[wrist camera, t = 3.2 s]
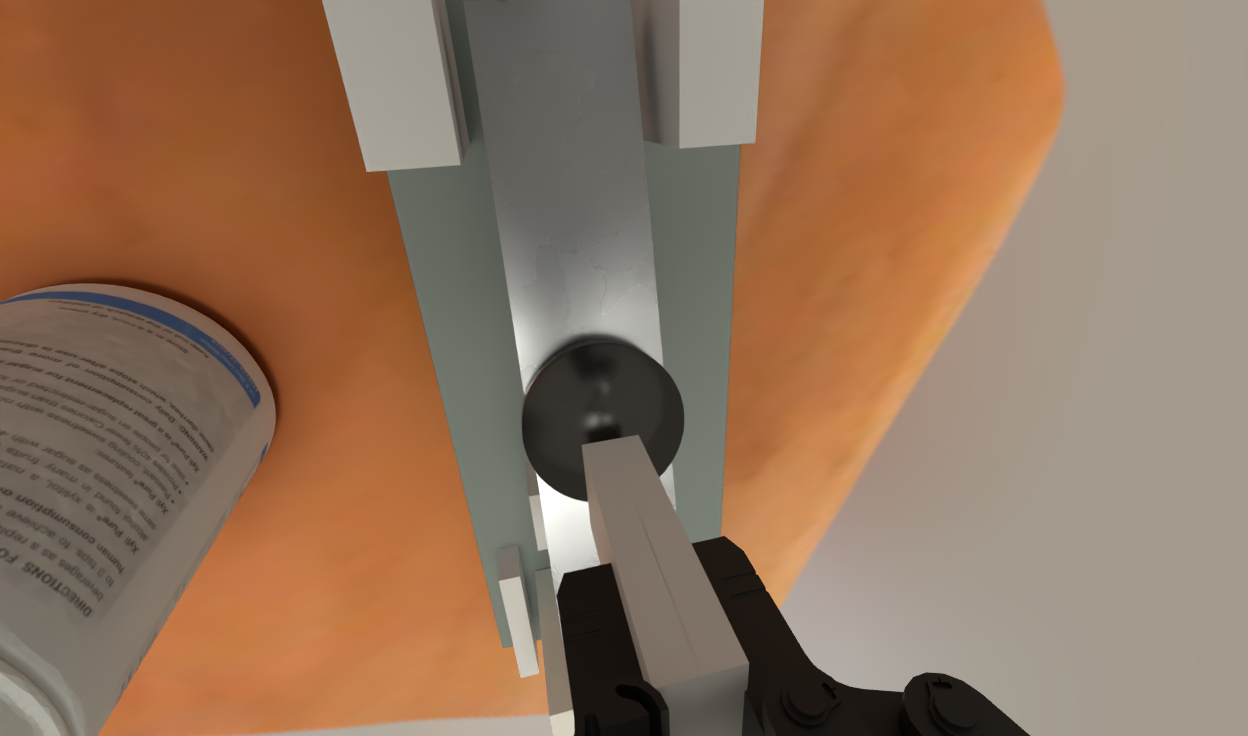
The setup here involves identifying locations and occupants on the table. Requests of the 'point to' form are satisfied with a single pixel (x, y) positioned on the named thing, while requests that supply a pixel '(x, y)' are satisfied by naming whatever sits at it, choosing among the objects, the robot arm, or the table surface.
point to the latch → (554, 657)
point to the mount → (473, 262)
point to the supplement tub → (109, 486)
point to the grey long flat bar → (574, 245)
